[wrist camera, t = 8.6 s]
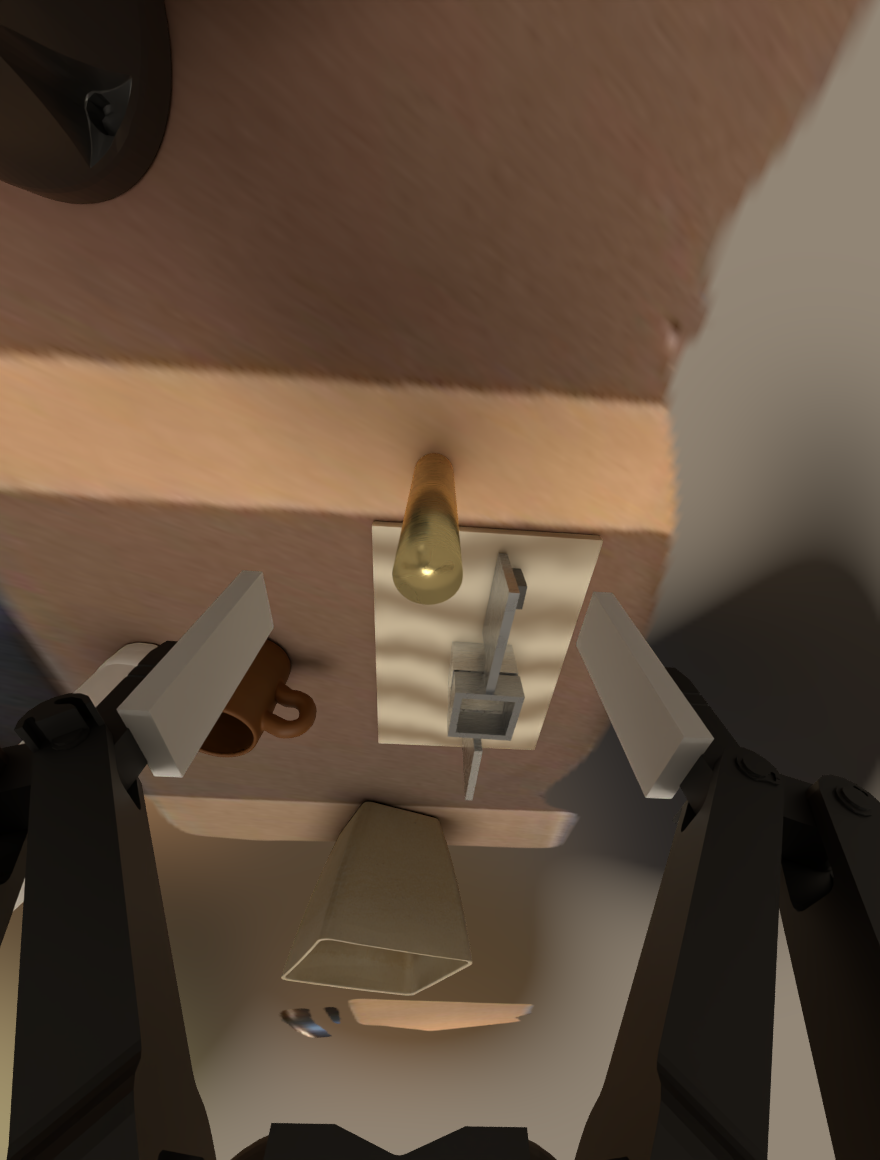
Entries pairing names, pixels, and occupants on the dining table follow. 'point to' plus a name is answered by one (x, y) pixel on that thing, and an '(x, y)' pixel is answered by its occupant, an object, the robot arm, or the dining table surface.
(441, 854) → the flower pot
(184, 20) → the dining table surface
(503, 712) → the square frame with bar
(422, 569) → the pin
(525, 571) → the board
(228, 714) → the mug
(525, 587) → the hinge base
